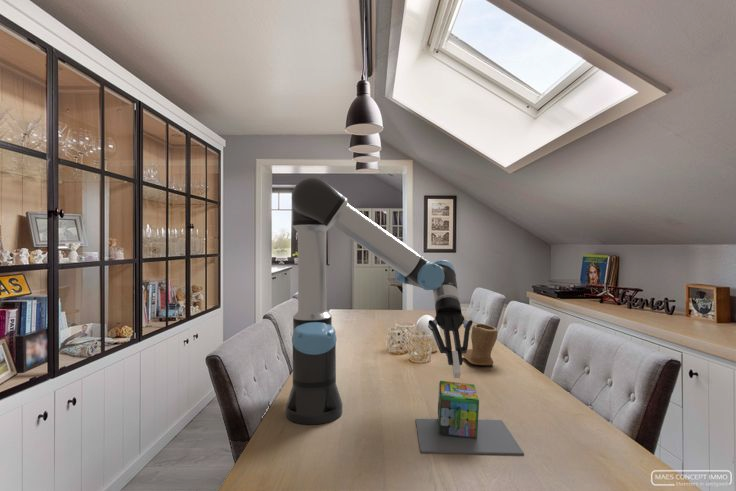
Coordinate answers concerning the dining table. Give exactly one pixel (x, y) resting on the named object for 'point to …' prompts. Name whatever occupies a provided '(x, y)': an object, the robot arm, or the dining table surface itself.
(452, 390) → the chalk box
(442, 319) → the robot arm
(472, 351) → the tan boot
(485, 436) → the mat
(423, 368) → the dining table surface
